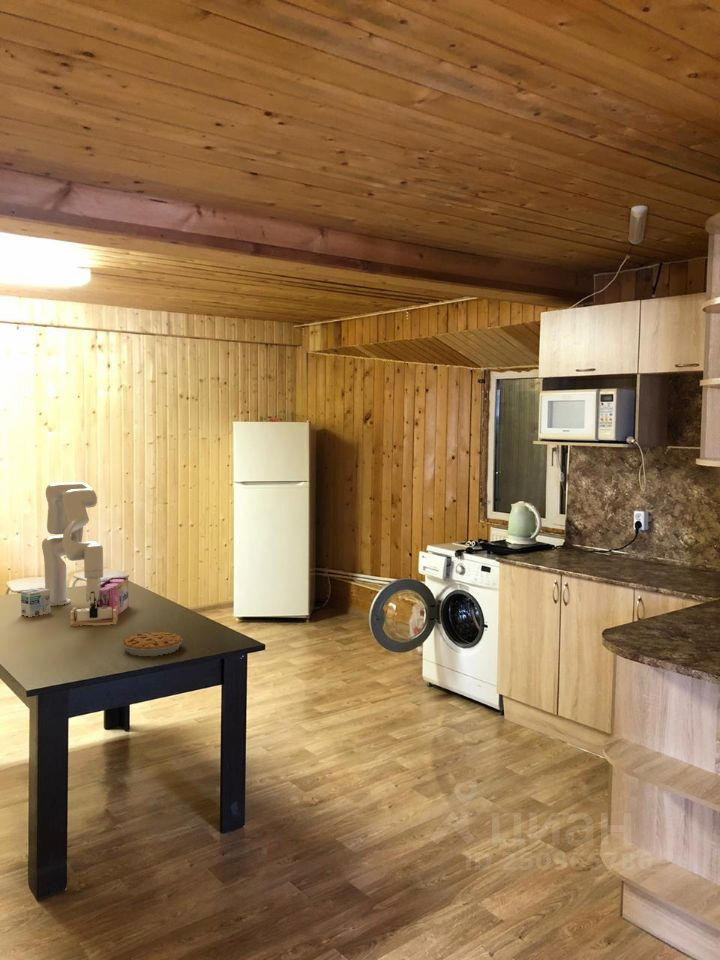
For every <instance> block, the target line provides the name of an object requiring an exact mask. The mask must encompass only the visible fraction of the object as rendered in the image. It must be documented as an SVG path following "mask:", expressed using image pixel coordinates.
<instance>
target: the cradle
mask: <svg viewBox="0 0 720 960" xmlns="http://www.w3.org/2000/svg"><path fill="white" fill-rule="evenodd" d="M76 609H77V607H76V606H75V607H74V606H73V607H72V609H71V610H70V615H69V616H70V619H69V620H70V621H69V622H70V625H69V626H70V627H83V626H82V625H93V626H111V625H110V624H116V625H117V623H118V621H119V614H118V606H115V607H114V609H113V615H112V618H106V619H95V620H84V621H77V619H76ZM79 625H80V626H79Z"/></svg>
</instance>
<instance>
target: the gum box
mask: <svg viewBox="0 0 720 960" xmlns="http://www.w3.org/2000/svg"><path fill="white" fill-rule="evenodd" d="M129 603H130V602H129V577H111V578H109V579H108V580H106V581H105V582H103V583H102V584H101V593H100V598H99V607H109V606H111V608H112V615H113V609H114V607H115V606H118V615H119V614H121V613H123V611H125V610H126V609H128V608H129Z"/></svg>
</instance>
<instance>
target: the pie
mask: <svg viewBox="0 0 720 960" xmlns="http://www.w3.org/2000/svg"><path fill="white" fill-rule="evenodd" d="M182 643H183V638H182V636H181V635H178V634H177V632H174V633H170V632H168V631H164V632H161V631H154V632H146V631H145V632H143V633H135V634H134V635H129V636H127V638H123V640H122V644H121V645H122V646H123V647H124V649H125V651H126V652H127V653H128V652H129V653H130V654H129V653H128V654H129V655H132V654H134V655H133V656H135V655H138V656H137V657H142V656H151V657H159V656H158V655H160V656H164V655H163V654H166V655H168V653H169V654H171V653H175V652H176V650H177V651H178V650H179V648H180V646H181V644H182Z"/></svg>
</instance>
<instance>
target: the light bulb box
mask: <svg viewBox="0 0 720 960" xmlns="http://www.w3.org/2000/svg"><path fill="white" fill-rule="evenodd" d="M20 607H21V608H20V609H21V610H20V611H21V612H20V613H21V616H22V615H24V616H23V617H26V616H28V617H27V618H33V617H32V616H35V617H39V616H38V615H40V616H44V615H49V614H51V612H52V611H51V606H50V590H49V589H45V587H40V588H33V589H29V590H23V591H20ZM48 613H49V614H48ZM43 614H44V615H43Z"/></svg>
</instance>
